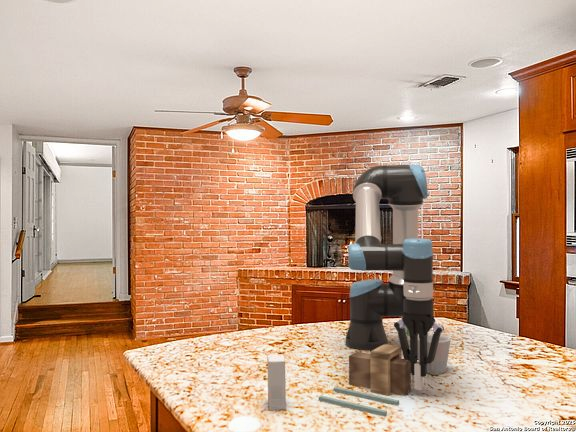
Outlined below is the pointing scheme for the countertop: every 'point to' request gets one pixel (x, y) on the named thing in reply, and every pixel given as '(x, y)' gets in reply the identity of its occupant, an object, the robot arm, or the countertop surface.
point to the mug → (437, 354)
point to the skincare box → (276, 382)
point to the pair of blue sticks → (358, 406)
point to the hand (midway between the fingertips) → (419, 388)
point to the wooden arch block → (382, 367)
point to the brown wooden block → (398, 373)
